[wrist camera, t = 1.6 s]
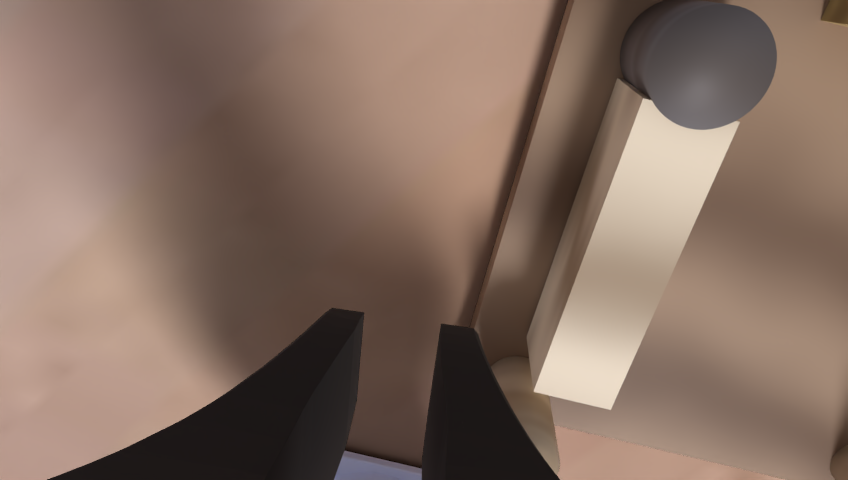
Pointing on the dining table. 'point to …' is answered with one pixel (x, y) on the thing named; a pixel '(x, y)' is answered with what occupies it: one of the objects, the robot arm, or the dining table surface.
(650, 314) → the leg bar
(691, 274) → the stool seat
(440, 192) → the dining table surface
